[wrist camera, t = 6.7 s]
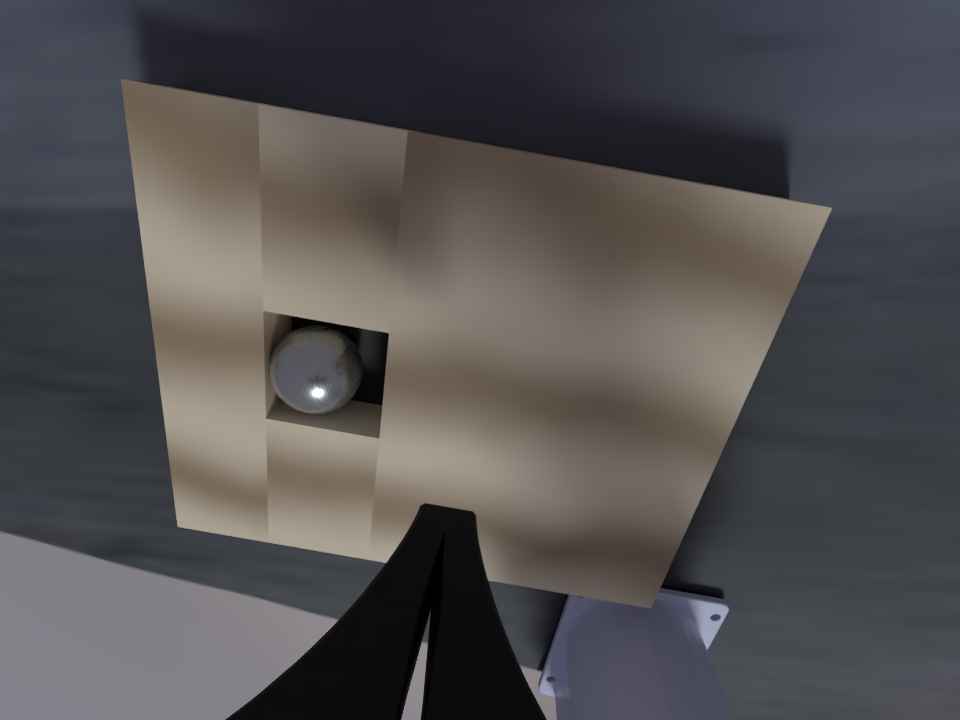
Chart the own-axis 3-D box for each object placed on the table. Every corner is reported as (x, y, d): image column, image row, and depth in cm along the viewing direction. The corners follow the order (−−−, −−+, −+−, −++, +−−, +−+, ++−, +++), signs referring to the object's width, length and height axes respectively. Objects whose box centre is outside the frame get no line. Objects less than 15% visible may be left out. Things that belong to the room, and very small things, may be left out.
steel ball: (319, 390, 22) (384, 399, 21) (257, 422, 19) (329, 434, 18) (307, 314, 21) (375, 318, 20) (240, 335, 18) (314, 341, 17)
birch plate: (638, 565, 25) (651, 608, 22) (209, 490, 24) (177, 526, 22) (790, 199, 17) (832, 208, 15) (173, 87, 17) (120, 78, 15)
